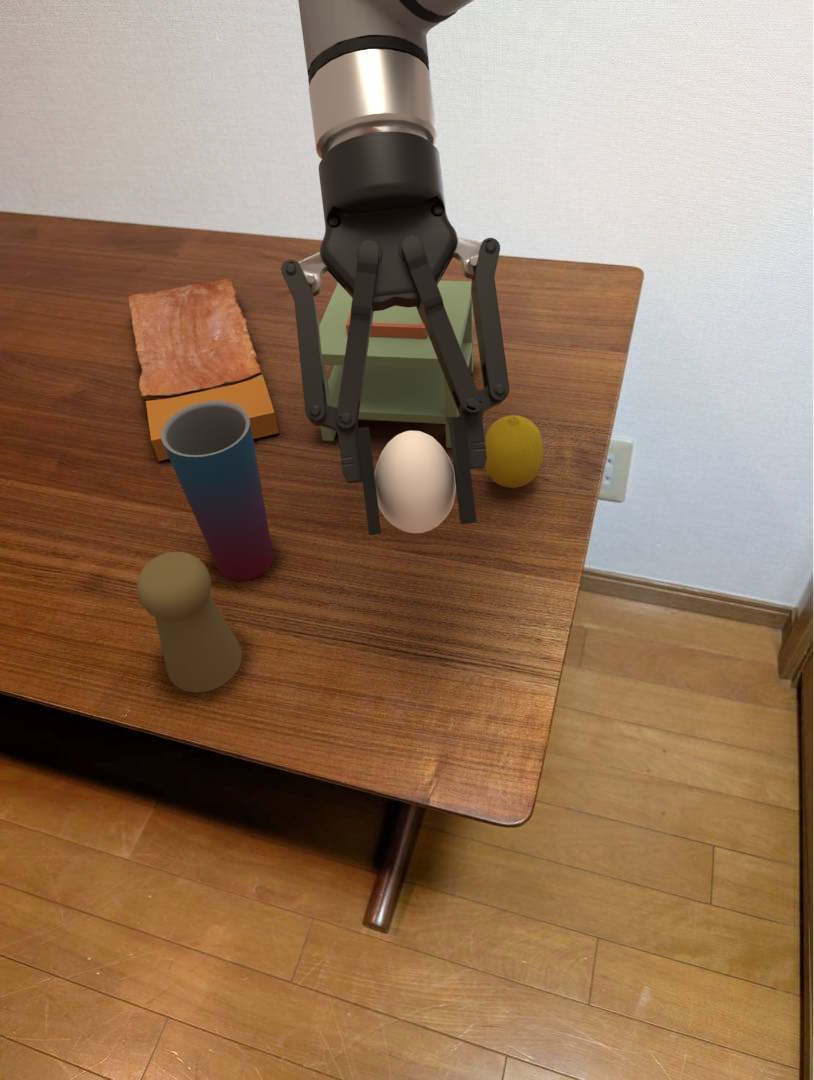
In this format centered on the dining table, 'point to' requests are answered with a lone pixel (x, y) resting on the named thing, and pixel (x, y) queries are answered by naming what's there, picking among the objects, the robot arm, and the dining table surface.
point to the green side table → (398, 359)
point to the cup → (222, 484)
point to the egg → (415, 482)
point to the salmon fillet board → (197, 355)
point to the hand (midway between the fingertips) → (421, 528)
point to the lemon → (513, 451)
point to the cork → (188, 622)
